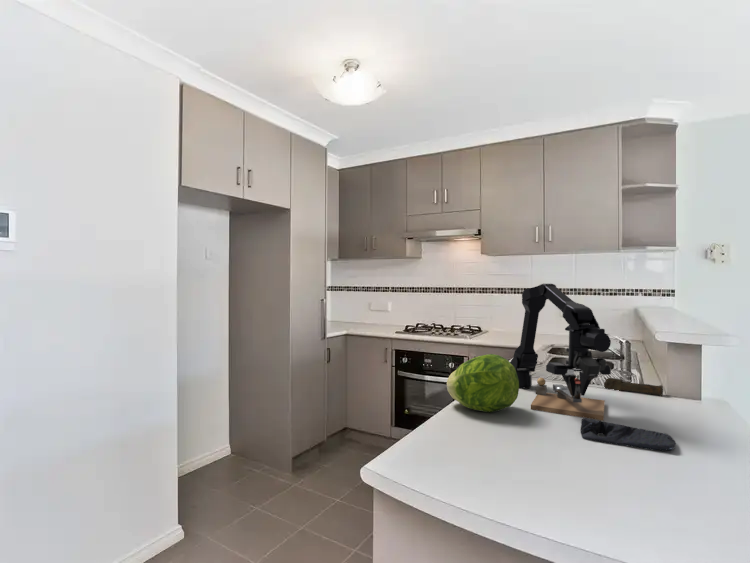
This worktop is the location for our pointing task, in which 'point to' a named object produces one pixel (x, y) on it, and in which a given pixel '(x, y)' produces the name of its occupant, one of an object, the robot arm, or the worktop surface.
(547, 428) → the worktop surface
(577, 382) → the lever
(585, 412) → the tan wooden panel
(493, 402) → the lettuce
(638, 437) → the dark slate chunk
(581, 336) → the robot arm
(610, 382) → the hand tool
